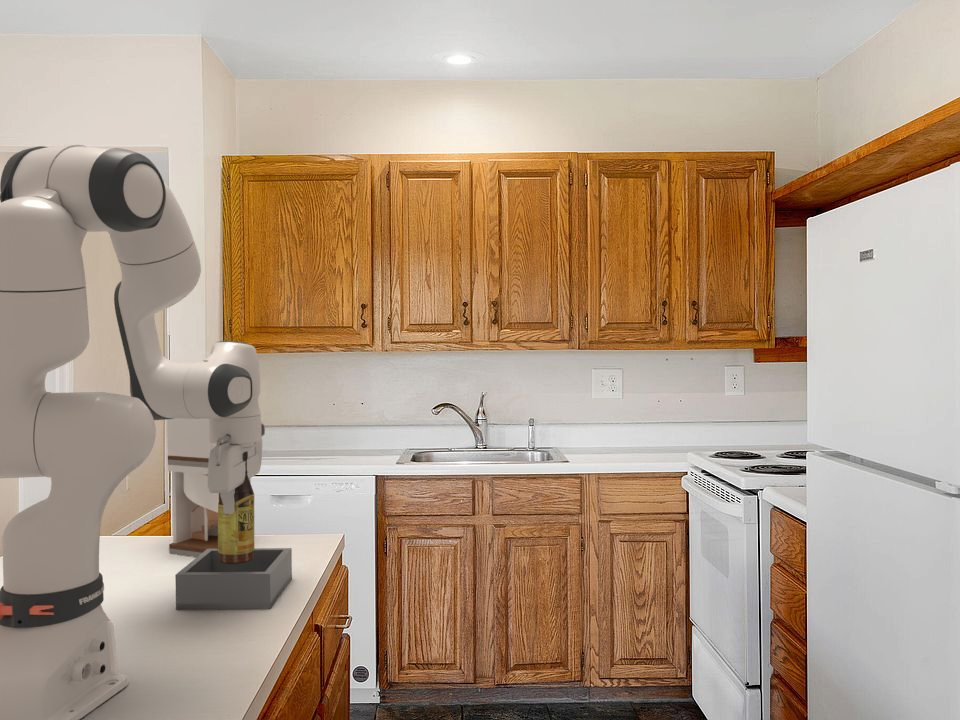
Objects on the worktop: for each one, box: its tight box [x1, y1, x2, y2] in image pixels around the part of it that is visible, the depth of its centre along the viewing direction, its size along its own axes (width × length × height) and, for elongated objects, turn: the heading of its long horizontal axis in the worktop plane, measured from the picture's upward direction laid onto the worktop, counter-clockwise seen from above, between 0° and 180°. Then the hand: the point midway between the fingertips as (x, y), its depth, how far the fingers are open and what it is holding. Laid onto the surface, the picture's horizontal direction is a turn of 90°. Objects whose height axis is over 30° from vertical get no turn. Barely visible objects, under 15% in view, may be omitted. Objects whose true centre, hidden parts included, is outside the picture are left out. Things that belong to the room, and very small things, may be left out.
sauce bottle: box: [218, 451, 255, 564], centre depth 138 cm, size 7×6×20 cm
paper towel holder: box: [166, 418, 219, 558], centre depth 167 cm, size 11×11×35 cm
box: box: [174, 547, 293, 611], centre depth 139 cm, size 16×16×6 cm
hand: (236, 508), depth 138 cm, fingers closed on sauce bottle, 6 cm apart
